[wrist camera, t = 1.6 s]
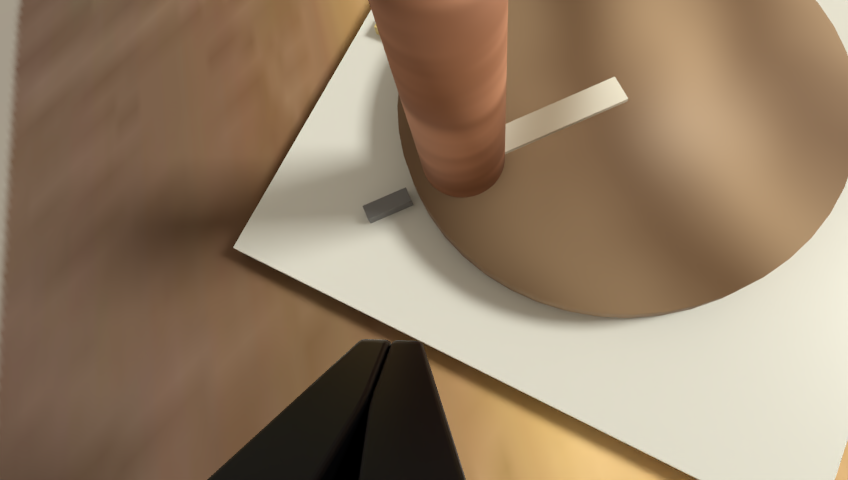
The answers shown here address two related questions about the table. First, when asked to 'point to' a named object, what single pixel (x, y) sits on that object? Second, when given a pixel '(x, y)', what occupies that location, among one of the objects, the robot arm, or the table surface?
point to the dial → (621, 140)
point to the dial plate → (558, 329)
